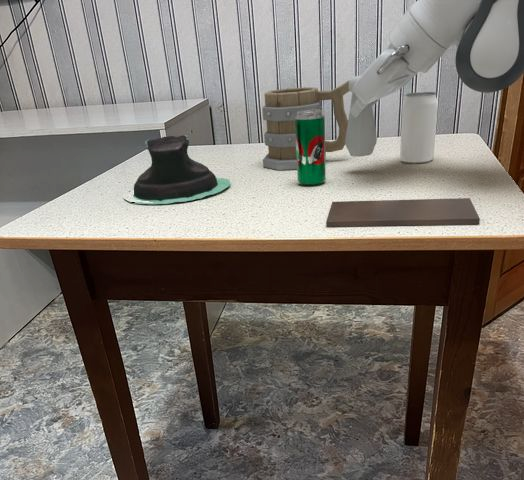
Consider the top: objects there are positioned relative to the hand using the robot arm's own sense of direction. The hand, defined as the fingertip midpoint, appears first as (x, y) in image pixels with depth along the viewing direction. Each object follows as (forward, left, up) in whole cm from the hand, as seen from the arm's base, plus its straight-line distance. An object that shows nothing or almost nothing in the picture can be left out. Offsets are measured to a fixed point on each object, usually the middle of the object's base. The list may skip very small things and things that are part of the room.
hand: (357, 112), depth 96 cm
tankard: (+10, -11, -11) cm, 18 cm away
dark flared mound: (+33, +9, -11) cm, 36 cm away
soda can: (+8, +7, -11) cm, 15 cm away
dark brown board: (-7, +28, -11) cm, 31 cm away
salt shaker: (-1, 0, -7) cm, 7 cm away
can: (-11, -9, -11) cm, 18 cm away
